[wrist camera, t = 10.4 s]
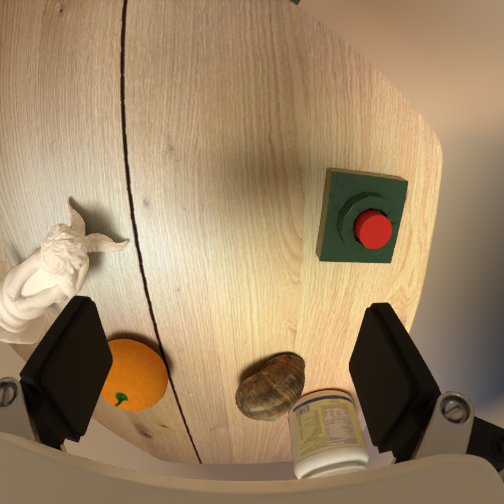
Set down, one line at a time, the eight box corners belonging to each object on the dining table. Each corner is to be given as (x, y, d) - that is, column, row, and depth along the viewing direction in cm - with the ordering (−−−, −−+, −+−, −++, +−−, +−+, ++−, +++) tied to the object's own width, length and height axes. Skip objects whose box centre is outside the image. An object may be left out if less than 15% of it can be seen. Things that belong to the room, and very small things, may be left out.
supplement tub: (338, 422, 51) (354, 493, 36) (280, 423, 50) (287, 500, 35) (362, 386, 46) (388, 466, 31) (296, 386, 45) (310, 477, 30)
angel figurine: (119, 199, 36) (146, 282, 32) (35, 272, 38) (50, 345, 34) (44, 151, 23) (52, 253, 19) (-34, 252, 25) (-28, 340, 21)
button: (357, 208, 28) (363, 213, 27) (388, 211, 28) (395, 216, 27) (351, 241, 30) (356, 248, 28) (381, 242, 30) (388, 249, 28)
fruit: (97, 362, 43) (77, 407, 34) (107, 316, 38) (81, 366, 29) (161, 389, 45) (149, 437, 36) (182, 349, 41) (170, 403, 32)
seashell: (252, 399, 46) (253, 438, 39) (223, 368, 43) (220, 410, 36) (314, 378, 44) (323, 417, 37) (293, 342, 41) (300, 386, 33)
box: (326, 167, 30) (337, 175, 26) (399, 176, 30) (416, 185, 27) (315, 252, 34) (323, 269, 31) (383, 255, 35) (396, 271, 31)
